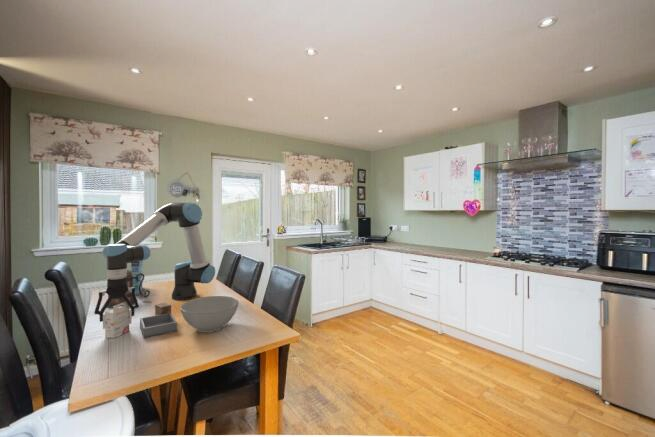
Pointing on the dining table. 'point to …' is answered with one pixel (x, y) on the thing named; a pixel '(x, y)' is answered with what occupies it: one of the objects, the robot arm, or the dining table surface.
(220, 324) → the decorative bowl
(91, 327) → the dining table surface
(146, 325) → the bin
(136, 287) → the gum box
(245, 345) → the dining table surface
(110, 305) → the tankard
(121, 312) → the ink cartridge box
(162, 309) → the walnut block
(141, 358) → the dining table surface
